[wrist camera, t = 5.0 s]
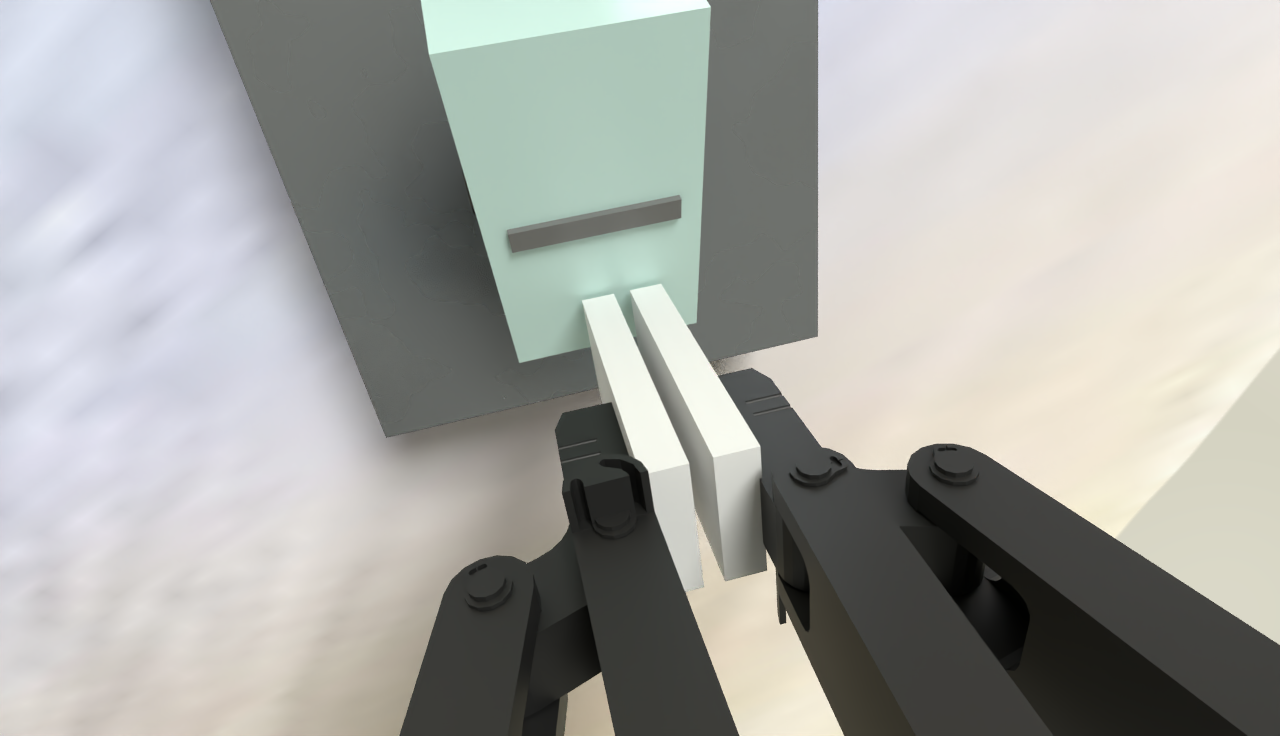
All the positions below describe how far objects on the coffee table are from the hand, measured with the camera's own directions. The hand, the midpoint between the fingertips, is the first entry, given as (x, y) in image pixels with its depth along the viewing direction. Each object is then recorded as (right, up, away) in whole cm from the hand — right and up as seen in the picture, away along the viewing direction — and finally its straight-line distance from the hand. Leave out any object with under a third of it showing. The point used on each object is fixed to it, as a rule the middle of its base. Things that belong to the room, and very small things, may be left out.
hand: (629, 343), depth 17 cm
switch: (-1, +3, -2) cm, 4 cm away
